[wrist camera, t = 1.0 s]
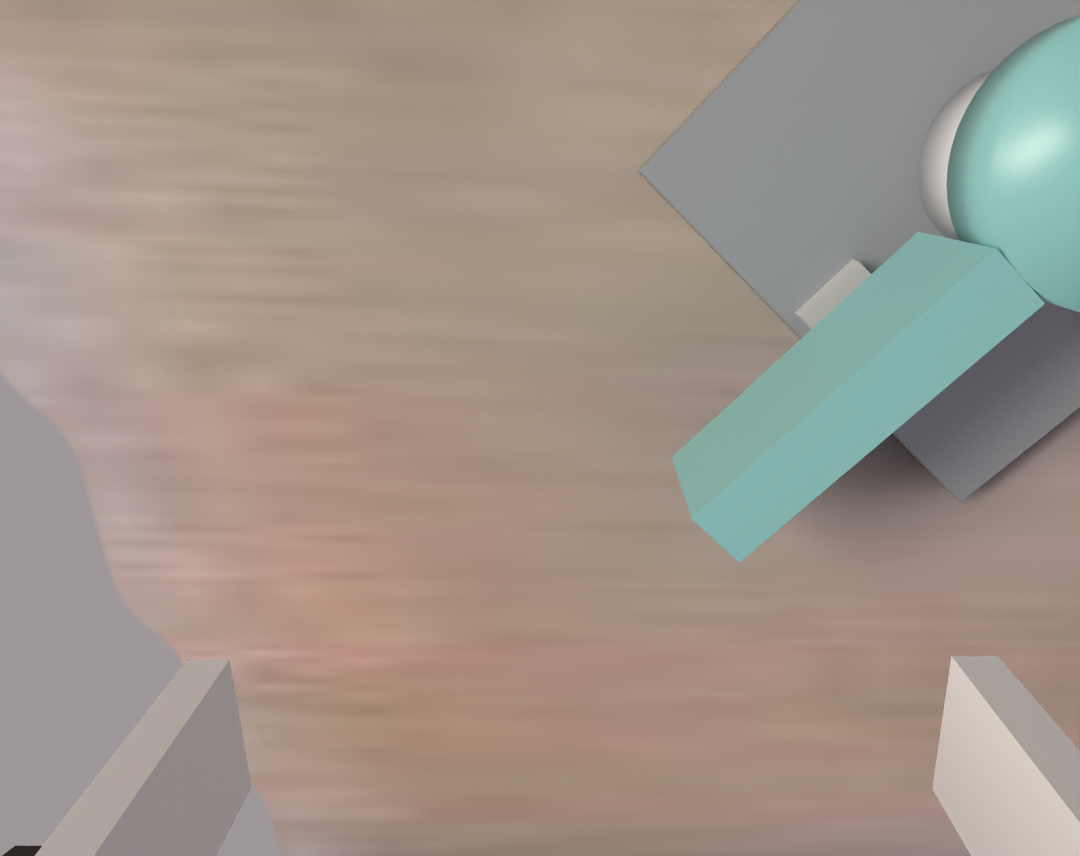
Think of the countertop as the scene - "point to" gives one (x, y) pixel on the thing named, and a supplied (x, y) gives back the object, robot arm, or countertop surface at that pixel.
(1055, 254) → the domed saucepan
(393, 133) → the countertop surface
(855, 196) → the post board
